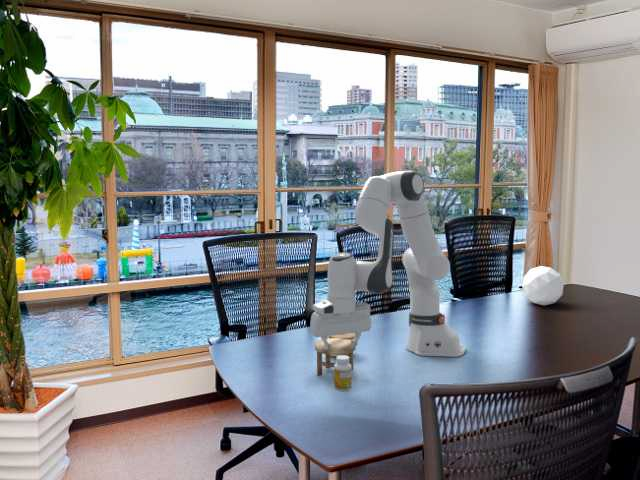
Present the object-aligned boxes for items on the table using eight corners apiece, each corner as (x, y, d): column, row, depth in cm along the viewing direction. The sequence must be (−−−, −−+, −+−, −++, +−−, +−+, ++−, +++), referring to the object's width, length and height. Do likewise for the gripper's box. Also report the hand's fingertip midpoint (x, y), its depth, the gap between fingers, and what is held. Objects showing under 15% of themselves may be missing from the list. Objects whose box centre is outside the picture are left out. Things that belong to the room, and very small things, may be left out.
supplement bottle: (333, 385, 198) (332, 354, 196) (350, 384, 198) (350, 354, 197) (335, 391, 192) (334, 360, 191) (352, 390, 193) (352, 359, 191)
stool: (360, 367, 214) (360, 340, 212) (348, 381, 201) (348, 352, 199) (323, 363, 219) (322, 336, 217) (309, 376, 206) (308, 348, 204)
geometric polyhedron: (549, 319, 300) (559, 293, 286) (511, 301, 309) (519, 275, 295) (565, 295, 310) (574, 269, 296) (528, 278, 319) (535, 252, 305)
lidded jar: (360, 350, 233) (359, 327, 232) (352, 359, 223) (352, 334, 222) (333, 348, 236) (333, 324, 235) (324, 356, 226) (324, 332, 225)
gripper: (365, 299, 199) (365, 340, 201) (308, 305, 190) (308, 348, 192) (375, 303, 193) (374, 346, 195) (316, 309, 185) (316, 353, 186)
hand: (341, 347), depth 193 cm, fingers open, 8 cm apart
